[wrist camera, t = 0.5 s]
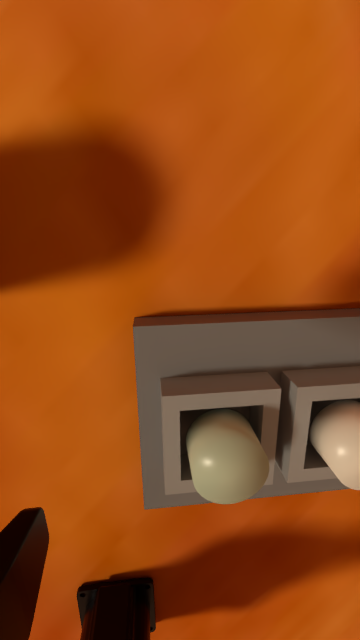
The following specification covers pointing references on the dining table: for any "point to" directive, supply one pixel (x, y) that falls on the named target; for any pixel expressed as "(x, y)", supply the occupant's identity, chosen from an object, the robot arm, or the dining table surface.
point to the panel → (242, 391)
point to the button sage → (225, 457)
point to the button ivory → (339, 440)
